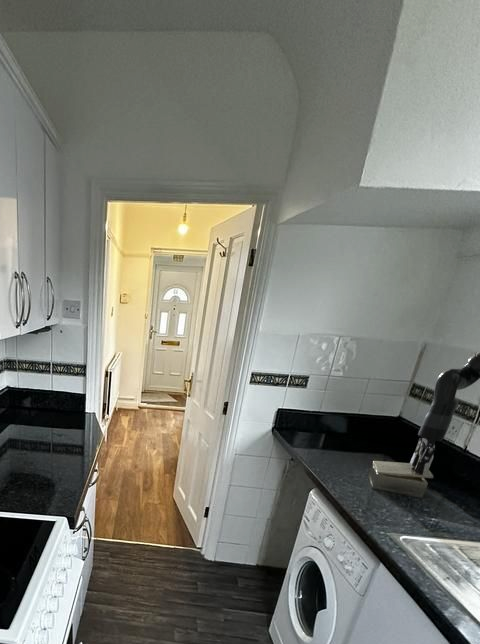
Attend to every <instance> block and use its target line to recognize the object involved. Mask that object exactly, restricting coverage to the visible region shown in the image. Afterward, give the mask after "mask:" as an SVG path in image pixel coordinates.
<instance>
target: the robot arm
mask: <svg viewBox="0 0 480 644" xmlns="http://www.w3.org/2000/svg"><path fill="white" fill-rule="evenodd" d="M479 380H480V349H479V350H478V351H476V352H474V353H473V354H472V355H471V356H470V357H469V358H468V359H467V363H466V364H464V365H463V366H461V367H460V368H448V369H445V370H444V371H442V372H441V373H440V374H439V376H437V379H436V381H435V385H434V391H433V400H432V402H431V404H430V407H429V409H428V412H427V413H426V415H425V417H424V419H423V421H422V424H421V426H420V428H419V430H418V433H417V435H418V437H419V438H418V442H417V445H416V448H415V450H414V453H416V454H415V456H416V457H415V458H414V461H413V463H412V466H414V467H415V471H418V472H422V470H423V468H424V466H425V464H426V463H429V461H430V459H431V457H432V456H433V457H434V454H435V452H436V445H435V444H436V442H441V441H443V440H444V438H445V437H446V434H447V432H448V430H449V428H450V425H451V424H452V419H453V417H454V415H455V412H456V409H457V408H458V405H459V400H458V399H457V397H456V395H457V392H458V391H460V390H463V389H466V388H469V387H470V386H472V385H473V384H476V382H477V381H479ZM419 456H420V457H419ZM424 457H426V459H424Z"/></svg>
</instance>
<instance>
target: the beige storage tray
mask: <svg viewBox="0 0 480 644" xmlns="http://www.w3.org/2000/svg"><path fill="white" fill-rule="evenodd" d="M367 476H368V480H369V481H368V482H369V483H370V486H371V489H372V490H377V491H382V492H388V493H391V494H392V493H393V494H397V495H403V496H408V497H411V498H412V497H413V498H418V499H423V497H424V494H425V492H426V490H427V487H428V485H429V483H428V481H427V479H426V478H422V477H409V476H396V475H384V474H377V472H376V469H375V467H374V464H373V463H372V464H371V467H370V470H369V472H368V475H367Z"/></svg>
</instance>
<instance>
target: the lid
mask: <svg viewBox="0 0 480 644" xmlns="http://www.w3.org/2000/svg"><path fill="white" fill-rule="evenodd" d="M419 457H420V456H419ZM424 459H426V458H425V457H424ZM372 464H374V467H375V469H376V472H377V474H384V475H396V476H409V477H422V478H425V479H434V474H433V473H432V472H431V471H430V468H429V469H428V468H427V466H426V465H425V466H424V468H423V470H422V472H418V471H415V467H414V466H412V463H410V462H397V461H383V460H381V461H380V460H373V461H372Z"/></svg>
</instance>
